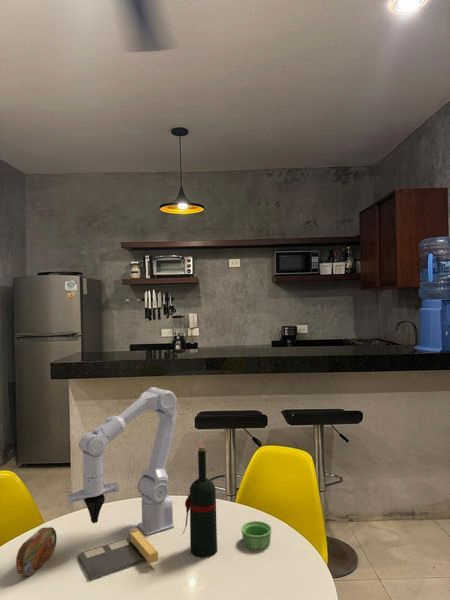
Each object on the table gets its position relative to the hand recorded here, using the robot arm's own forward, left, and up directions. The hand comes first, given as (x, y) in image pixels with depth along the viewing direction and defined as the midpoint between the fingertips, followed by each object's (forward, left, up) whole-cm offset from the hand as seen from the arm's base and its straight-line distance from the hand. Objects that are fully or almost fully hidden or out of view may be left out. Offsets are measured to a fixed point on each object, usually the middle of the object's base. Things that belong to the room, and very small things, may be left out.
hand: (94, 521), depth 128 cm
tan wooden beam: (-11, +10, -7) cm, 16 cm away
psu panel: (-4, +7, -9) cm, 12 cm away
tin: (+15, -2, -9) cm, 18 cm away
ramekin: (-42, +23, -9) cm, 48 cm away
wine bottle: (-26, +17, -9) cm, 32 cm away
